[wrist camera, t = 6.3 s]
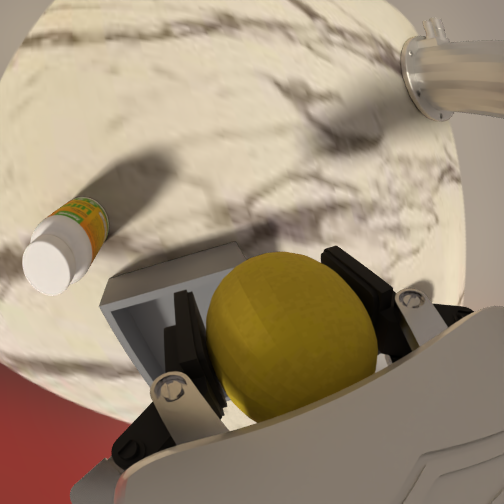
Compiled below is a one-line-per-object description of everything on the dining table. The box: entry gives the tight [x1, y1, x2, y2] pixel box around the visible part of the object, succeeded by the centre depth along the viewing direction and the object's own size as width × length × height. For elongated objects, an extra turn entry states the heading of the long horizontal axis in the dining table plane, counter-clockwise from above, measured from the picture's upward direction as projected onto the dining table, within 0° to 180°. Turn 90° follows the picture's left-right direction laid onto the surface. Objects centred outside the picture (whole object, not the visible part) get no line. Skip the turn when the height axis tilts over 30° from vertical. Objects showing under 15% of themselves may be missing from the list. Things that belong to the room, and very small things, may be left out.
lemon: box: [206, 252, 378, 423], centre depth 9 cm, size 6×6×8 cm
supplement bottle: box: [23, 197, 109, 296], centre depth 18 cm, size 5×5×10 cm
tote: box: [99, 242, 246, 401], centre depth 28 cm, size 18×14×5 cm
